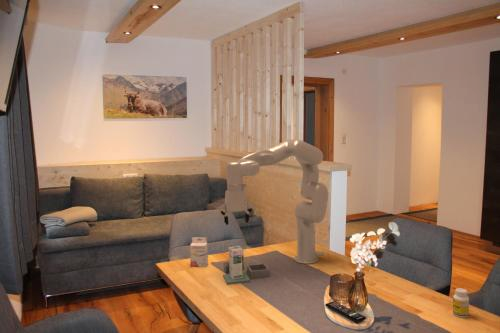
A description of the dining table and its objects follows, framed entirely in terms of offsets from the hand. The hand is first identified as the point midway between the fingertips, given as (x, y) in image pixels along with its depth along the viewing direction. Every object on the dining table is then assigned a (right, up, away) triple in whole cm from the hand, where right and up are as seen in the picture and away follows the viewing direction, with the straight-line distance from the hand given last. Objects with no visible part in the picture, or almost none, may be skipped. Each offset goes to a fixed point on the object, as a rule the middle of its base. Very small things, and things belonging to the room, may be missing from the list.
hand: (236, 223), depth 205 cm
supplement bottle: (+86, -29, -42) cm, 100 cm away
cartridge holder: (+10, -26, +6) cm, 28 cm away
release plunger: (-3, -25, +11) cm, 27 cm away
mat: (0, -27, 0) cm, 27 cm away
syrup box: (0, -26, 0) cm, 26 cm away
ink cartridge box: (-20, -25, +21) cm, 39 cm away
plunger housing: (-3, -26, +11) cm, 28 cm away
